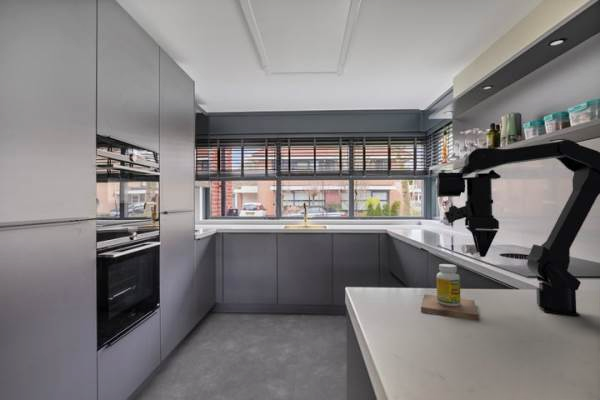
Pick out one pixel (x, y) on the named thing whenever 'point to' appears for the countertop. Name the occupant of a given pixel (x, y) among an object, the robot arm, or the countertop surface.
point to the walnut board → (450, 308)
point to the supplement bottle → (448, 285)
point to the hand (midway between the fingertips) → (480, 254)
